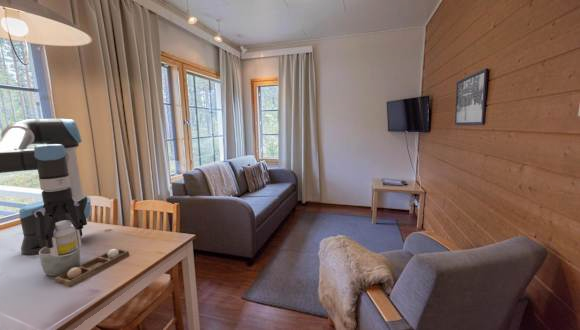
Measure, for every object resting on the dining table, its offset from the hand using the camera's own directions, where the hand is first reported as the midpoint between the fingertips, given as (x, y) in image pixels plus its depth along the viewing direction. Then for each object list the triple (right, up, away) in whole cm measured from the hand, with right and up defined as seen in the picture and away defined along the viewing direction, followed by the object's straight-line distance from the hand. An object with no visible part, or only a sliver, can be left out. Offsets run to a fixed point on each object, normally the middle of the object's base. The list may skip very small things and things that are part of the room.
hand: (66, 250), depth 89 cm
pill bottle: (0, -1, 0) cm, 1 cm away
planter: (-16, -14, +16) cm, 27 cm away
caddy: (-3, -14, +17) cm, 23 cm away
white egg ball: (-1, -12, +25) cm, 27 cm away
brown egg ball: (-6, -15, +10) cm, 19 cm away
